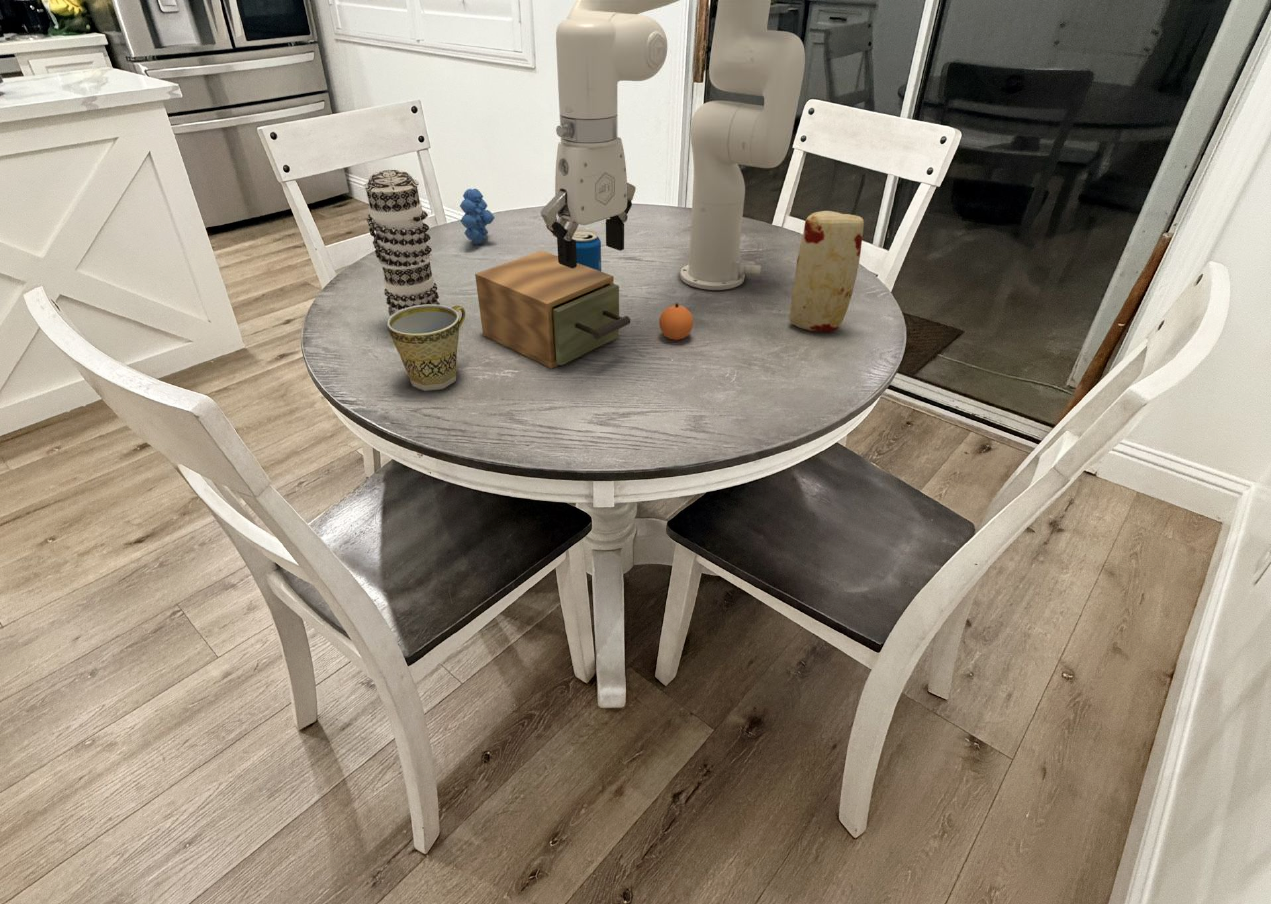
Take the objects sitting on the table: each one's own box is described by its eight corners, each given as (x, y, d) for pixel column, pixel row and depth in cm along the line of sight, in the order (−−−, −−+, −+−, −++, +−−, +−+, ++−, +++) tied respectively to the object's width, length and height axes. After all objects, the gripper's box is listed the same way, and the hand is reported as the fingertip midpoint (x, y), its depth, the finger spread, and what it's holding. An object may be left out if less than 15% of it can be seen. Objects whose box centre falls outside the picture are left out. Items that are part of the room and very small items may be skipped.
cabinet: (614, 337, 118) (613, 276, 111) (551, 368, 109) (547, 303, 103) (545, 308, 127) (541, 250, 120) (482, 335, 118) (474, 273, 112)
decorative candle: (427, 309, 126) (401, 162, 111) (455, 326, 121) (432, 174, 106) (380, 325, 121) (346, 173, 106) (407, 343, 115) (376, 186, 101)
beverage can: (597, 307, 127) (595, 242, 120) (562, 304, 128) (559, 239, 121) (605, 293, 132) (604, 230, 125) (572, 290, 133) (569, 227, 126)
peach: (694, 332, 120) (696, 298, 116) (689, 347, 115) (691, 312, 112) (661, 329, 120) (662, 295, 117) (656, 343, 116) (657, 309, 112)
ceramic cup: (434, 404, 100) (422, 340, 94) (385, 384, 105) (371, 323, 99) (495, 366, 109) (487, 306, 103) (447, 350, 114) (438, 291, 108)
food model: (786, 333, 119) (804, 215, 108) (788, 317, 125) (805, 202, 113) (845, 339, 118) (869, 220, 106) (844, 322, 123) (868, 207, 111)
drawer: (643, 346, 113) (644, 294, 108) (585, 377, 105) (583, 322, 100) (554, 309, 124) (551, 260, 119) (496, 334, 116) (490, 283, 111)
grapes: (489, 254, 148) (482, 196, 141) (458, 252, 149) (450, 194, 141) (505, 236, 157) (499, 180, 150) (475, 234, 158) (468, 179, 151)
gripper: (559, 145, 85) (566, 280, 95) (653, 124, 95) (650, 248, 105) (519, 135, 89) (529, 266, 99) (613, 116, 99) (614, 236, 109)
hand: (591, 256), depth 102 cm, fingers open, 9 cm apart
